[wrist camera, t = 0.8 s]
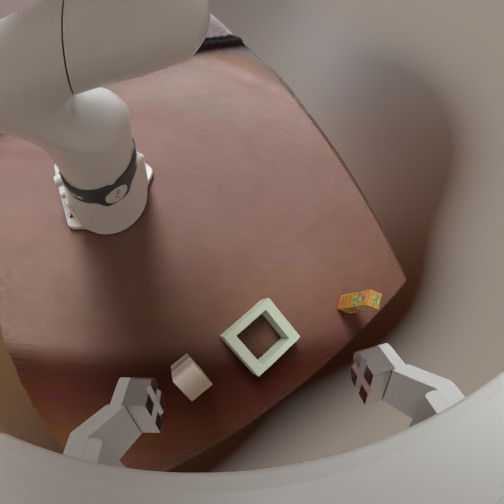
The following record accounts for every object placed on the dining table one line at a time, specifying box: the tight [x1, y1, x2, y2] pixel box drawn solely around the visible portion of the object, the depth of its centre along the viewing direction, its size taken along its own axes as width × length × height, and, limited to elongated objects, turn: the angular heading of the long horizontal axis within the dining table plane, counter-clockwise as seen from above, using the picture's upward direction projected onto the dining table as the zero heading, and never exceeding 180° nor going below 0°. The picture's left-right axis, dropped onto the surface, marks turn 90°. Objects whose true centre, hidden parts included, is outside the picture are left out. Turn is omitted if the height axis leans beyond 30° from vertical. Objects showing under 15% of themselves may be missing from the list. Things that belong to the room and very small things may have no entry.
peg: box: [171, 353, 213, 401], centre depth 36 cm, size 4×4×12 cm
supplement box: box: [337, 289, 382, 314], centre depth 49 cm, size 3×3×10 cm
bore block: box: [220, 298, 300, 376], centre depth 45 cm, size 9×10×4 cm
